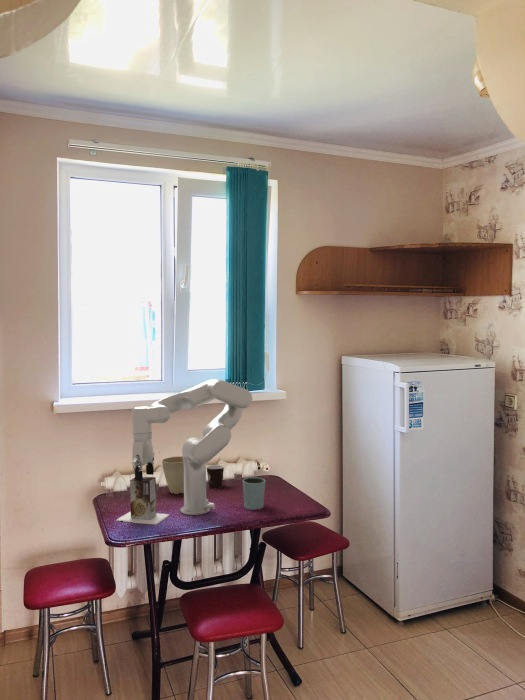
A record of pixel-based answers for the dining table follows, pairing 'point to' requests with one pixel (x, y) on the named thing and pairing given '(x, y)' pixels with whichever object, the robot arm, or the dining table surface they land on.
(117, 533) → the dining table surface
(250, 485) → the teal cup
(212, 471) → the coffee mug
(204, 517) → the dining table surface
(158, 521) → the mat
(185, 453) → the robot arm
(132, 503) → the coffee box
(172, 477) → the plant pot
